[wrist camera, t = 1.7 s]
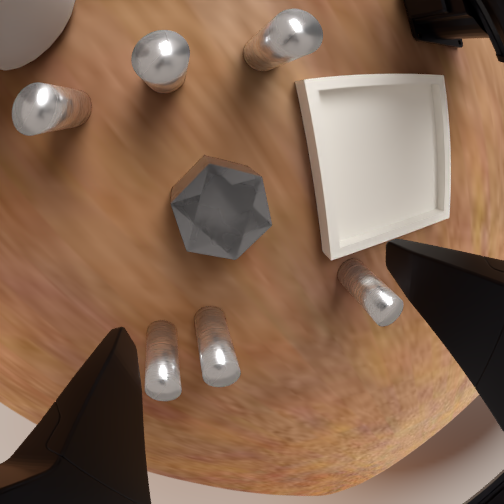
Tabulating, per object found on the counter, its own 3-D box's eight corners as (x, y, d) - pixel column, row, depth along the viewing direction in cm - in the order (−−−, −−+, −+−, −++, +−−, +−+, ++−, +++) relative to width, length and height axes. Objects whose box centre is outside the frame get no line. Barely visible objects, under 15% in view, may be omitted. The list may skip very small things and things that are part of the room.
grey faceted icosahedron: (242, 144, 18) (256, 151, 15) (261, 226, 21) (276, 247, 18) (165, 166, 18) (162, 177, 15) (191, 247, 20) (194, 272, 17)
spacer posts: (331, 31, 16) (384, 12, 11) (362, 278, 25) (401, 318, 20) (53, 99, 14) (7, 97, 9) (154, 346, 23) (154, 403, 18)
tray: (431, 75, 18) (443, 75, 17) (438, 212, 24) (449, 217, 23) (294, 81, 17) (304, 79, 16) (322, 251, 23) (331, 260, 22)
